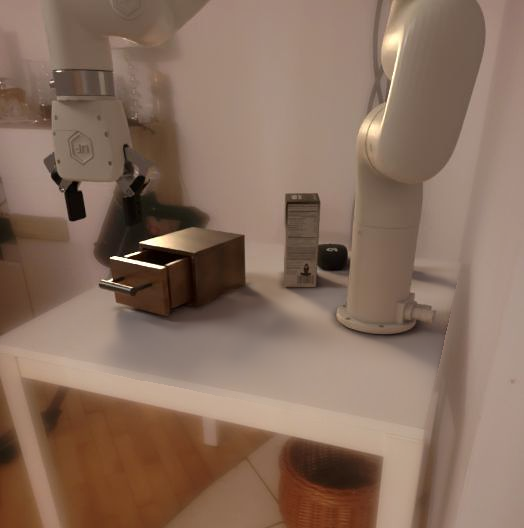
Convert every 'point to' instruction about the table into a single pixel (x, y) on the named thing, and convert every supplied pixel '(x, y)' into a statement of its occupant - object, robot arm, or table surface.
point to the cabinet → (206, 260)
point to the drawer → (151, 280)
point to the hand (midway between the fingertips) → (105, 221)
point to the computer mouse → (332, 256)
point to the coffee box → (301, 239)
